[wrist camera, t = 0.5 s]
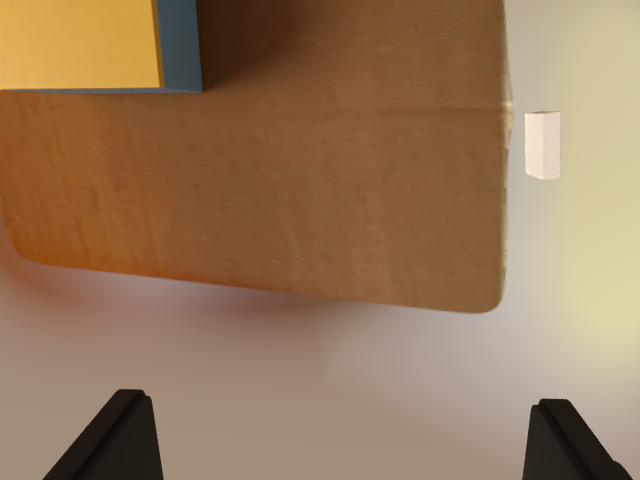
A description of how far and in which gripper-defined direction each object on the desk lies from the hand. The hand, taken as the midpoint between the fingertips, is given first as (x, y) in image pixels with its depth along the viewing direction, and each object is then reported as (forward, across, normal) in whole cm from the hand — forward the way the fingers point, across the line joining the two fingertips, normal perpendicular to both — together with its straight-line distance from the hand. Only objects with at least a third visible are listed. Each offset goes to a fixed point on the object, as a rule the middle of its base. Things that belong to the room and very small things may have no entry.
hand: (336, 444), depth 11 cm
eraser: (+30, -15, -5) cm, 34 cm away
